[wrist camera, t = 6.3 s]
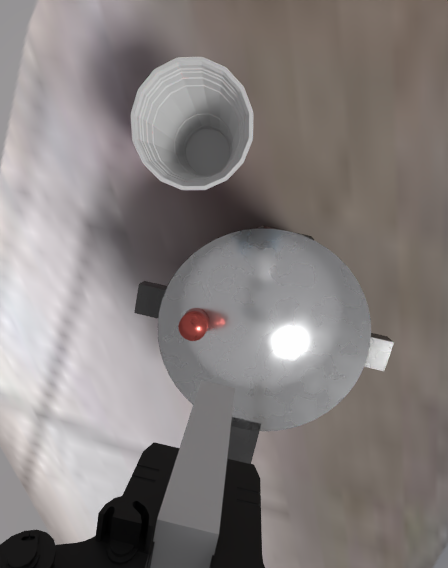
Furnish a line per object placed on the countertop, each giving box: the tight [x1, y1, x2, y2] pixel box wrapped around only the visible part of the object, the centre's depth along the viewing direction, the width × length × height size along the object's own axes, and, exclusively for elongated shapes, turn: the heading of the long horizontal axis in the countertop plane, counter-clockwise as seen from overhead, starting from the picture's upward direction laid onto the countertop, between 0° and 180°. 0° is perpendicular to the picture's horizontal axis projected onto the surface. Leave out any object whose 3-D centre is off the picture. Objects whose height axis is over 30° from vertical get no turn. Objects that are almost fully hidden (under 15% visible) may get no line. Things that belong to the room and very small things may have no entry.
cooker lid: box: [158, 226, 371, 464], centre depth 29 cm, size 23×19×4 cm
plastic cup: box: [130, 57, 253, 190], centre depth 34 cm, size 11×11×12 cm
